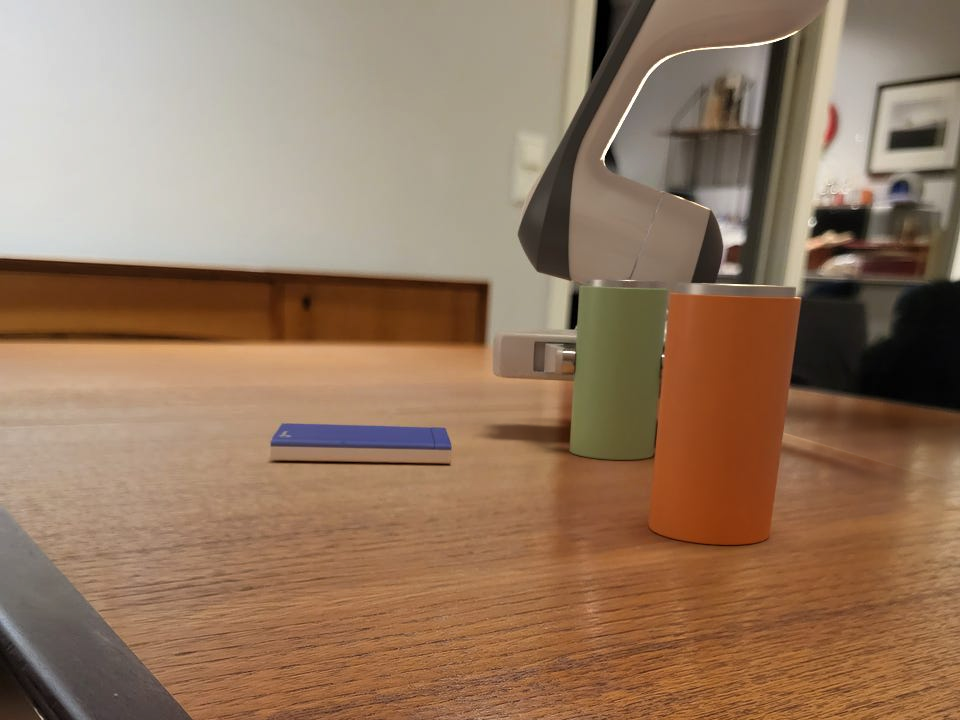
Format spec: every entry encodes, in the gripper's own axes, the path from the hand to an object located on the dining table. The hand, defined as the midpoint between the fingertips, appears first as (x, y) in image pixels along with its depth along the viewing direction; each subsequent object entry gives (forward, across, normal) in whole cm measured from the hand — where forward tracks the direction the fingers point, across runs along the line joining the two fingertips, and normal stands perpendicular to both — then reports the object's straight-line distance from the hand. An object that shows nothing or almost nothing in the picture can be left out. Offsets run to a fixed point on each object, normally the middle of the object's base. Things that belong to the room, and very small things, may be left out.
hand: (618, 364), depth 74 cm
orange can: (+23, +6, +7) cm, 24 cm away
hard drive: (+6, -18, +7) cm, 20 cm away
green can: (-1, 0, +7) cm, 7 cm away
